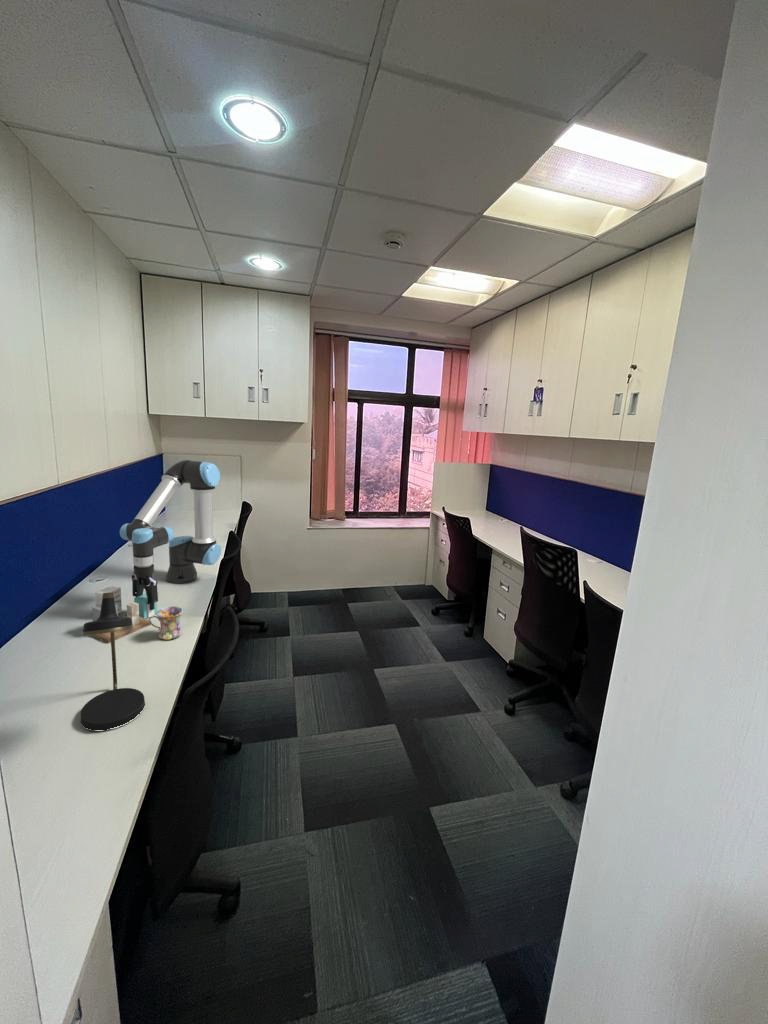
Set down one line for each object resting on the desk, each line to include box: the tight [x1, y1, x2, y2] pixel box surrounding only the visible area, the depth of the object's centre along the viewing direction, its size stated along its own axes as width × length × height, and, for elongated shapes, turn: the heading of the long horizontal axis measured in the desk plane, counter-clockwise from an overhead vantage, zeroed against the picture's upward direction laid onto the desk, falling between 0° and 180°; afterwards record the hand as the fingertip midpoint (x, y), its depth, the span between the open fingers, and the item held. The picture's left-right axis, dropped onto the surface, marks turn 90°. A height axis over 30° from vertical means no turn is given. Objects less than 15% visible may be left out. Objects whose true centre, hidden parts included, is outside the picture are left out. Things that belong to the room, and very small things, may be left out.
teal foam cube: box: [133, 593, 158, 619], centre depth 179 cm, size 6×6×8 cm
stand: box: [90, 601, 152, 644], centre depth 166 cm, size 18×12×11 cm, turn 156°
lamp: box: [79, 592, 146, 730], centre depth 120 cm, size 16×22×38 cm
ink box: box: [95, 585, 123, 615], centre depth 176 cm, size 9×5×12 cm, turn 168°
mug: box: [148, 606, 184, 640], centre depth 164 cm, size 12×9×11 cm
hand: (145, 614), depth 180 cm, fingers closed on teal foam cube, 6 cm apart
